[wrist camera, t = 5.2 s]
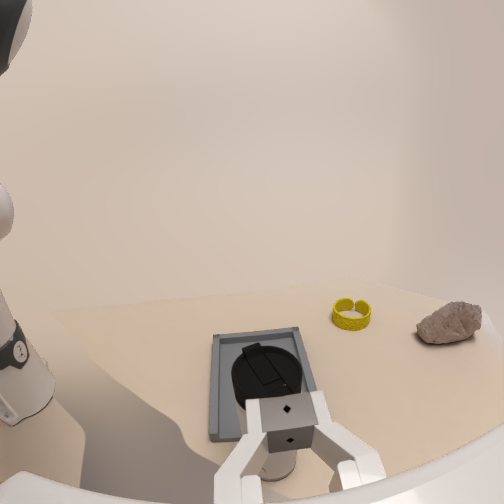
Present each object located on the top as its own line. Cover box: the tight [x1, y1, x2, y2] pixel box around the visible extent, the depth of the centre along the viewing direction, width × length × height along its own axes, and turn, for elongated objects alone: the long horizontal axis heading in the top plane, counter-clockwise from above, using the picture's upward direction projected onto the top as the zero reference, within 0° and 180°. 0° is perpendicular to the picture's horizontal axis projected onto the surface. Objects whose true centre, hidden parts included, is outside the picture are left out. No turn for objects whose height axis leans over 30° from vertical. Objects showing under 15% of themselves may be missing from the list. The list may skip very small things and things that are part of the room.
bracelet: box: [332, 298, 371, 331], centre depth 59 cm, size 7×8×3 cm
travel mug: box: [231, 342, 302, 481], centre depth 29 cm, size 6×7×20 cm
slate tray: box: [209, 327, 317, 442], centre depth 46 cm, size 16×22×2 cm
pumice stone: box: [416, 302, 482, 344], centre depth 48 cm, size 15×8×10 cm, turn 81°
